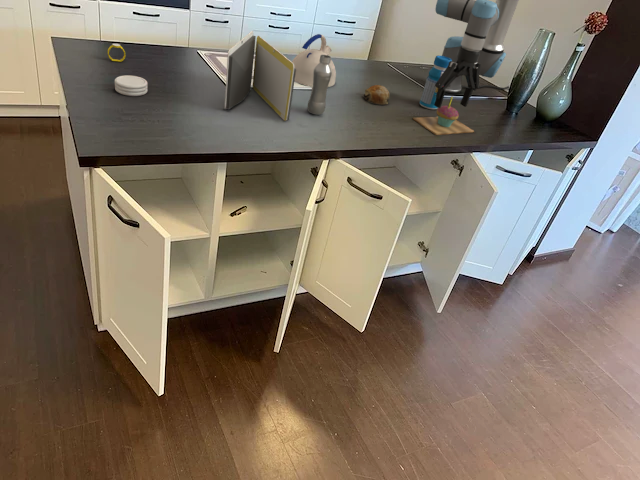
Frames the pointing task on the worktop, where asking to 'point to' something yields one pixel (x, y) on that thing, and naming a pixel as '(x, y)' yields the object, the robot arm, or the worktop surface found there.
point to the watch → (116, 47)
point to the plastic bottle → (320, 86)
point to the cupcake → (447, 115)
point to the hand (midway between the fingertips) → (450, 106)
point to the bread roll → (377, 95)
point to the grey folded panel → (259, 75)
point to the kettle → (311, 62)
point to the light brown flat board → (437, 129)
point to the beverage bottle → (433, 82)
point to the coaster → (131, 85)
